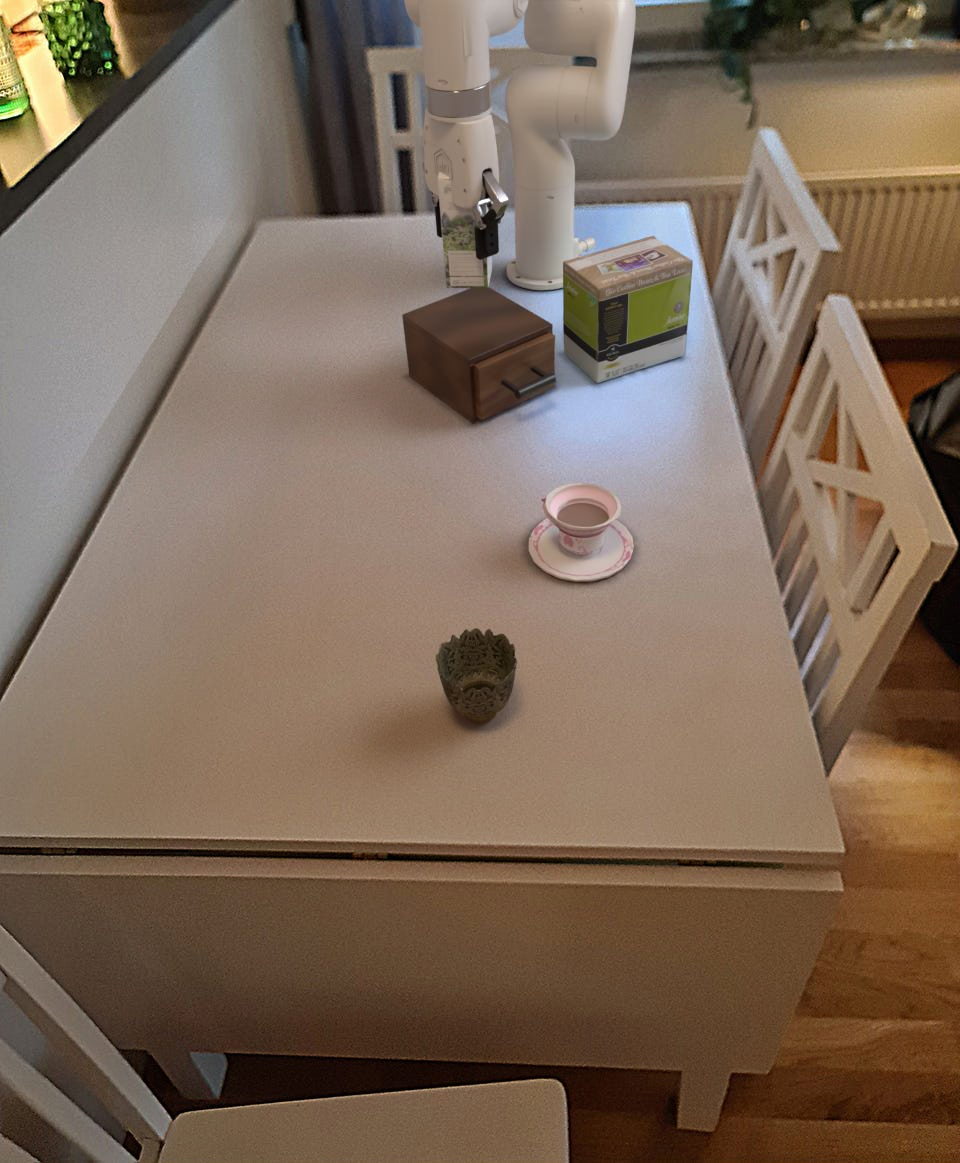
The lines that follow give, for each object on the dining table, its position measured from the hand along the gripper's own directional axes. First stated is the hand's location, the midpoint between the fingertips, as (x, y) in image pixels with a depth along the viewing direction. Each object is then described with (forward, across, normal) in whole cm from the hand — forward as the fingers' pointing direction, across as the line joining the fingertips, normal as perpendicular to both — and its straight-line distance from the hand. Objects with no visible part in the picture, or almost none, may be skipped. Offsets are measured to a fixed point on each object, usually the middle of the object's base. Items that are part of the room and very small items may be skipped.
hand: (467, 244), depth 122 cm
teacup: (+20, +37, -12) cm, 44 cm away
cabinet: (+20, +1, 0) cm, 20 cm away
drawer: (+19, +5, 0) cm, 20 cm away
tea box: (+20, +9, +20) cm, 30 cm away
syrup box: (+5, 0, 0) cm, 5 cm away
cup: (+20, +49, -35) cm, 63 cm away
